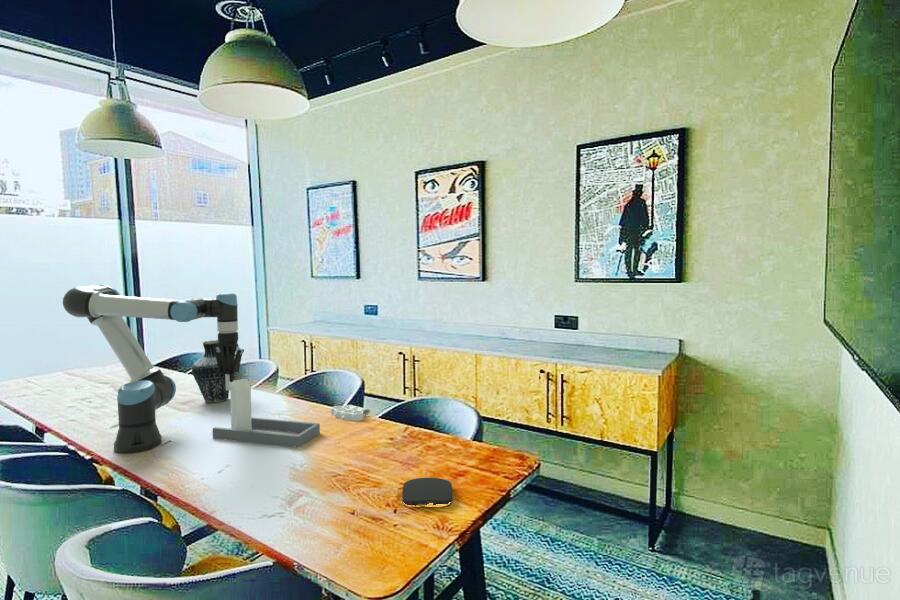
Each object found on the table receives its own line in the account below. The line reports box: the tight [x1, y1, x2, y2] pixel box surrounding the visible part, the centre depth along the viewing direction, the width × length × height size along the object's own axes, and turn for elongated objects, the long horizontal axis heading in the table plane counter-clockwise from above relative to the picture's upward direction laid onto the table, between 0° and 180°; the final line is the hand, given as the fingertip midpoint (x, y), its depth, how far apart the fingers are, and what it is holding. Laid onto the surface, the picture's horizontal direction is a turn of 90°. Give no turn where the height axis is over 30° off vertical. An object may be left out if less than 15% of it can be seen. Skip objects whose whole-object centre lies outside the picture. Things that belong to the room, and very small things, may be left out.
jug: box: [191, 339, 230, 403], centre depth 244 cm, size 21×19×30 cm
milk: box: [229, 378, 253, 431], centre depth 198 cm, size 6×6×22 cm
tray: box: [212, 416, 321, 448], centre depth 196 cm, size 16×38×4 cm, turn 76°
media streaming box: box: [402, 477, 453, 506], centre depth 146 cm, size 15×15×3 cm
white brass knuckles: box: [330, 404, 371, 422], centre depth 223 cm, size 3×18×15 cm
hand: (229, 389), depth 199 cm, fingers closed
